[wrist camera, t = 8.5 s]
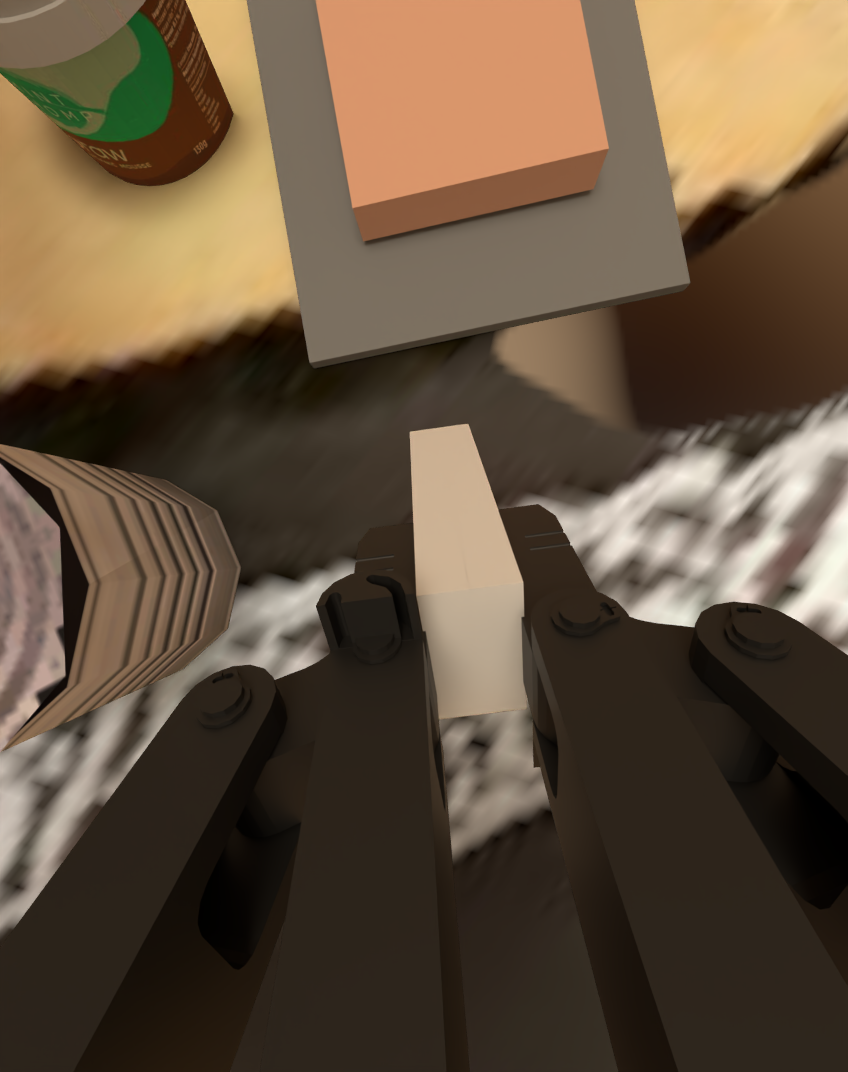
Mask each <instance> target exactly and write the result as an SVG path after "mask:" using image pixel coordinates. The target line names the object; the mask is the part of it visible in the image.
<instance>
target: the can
mask: <svg viewBox="0 0 848 1072" xmlns="http://www.w3.org/2000/svg"><path fill="white" fill-rule="evenodd" d="M240 571H241V566H240V563H239V561H238V559H237V556H236V554H235V552H234V549H233V547H232V544H231V542H230V540H229V537H228V535H227V532H226V530H225V528H224V525H223V523H222V520H221V518H220V516H219V513H218V511H217V510H215V509H214V508H212V507H210V506H209V505H207V504H206V503H204V502H202V501H201V500H199V499H197V498H196V497H194V496H192V495H191V494H189V493H187V492H186V491H184V490H182V489H181V488H179V487H177V486H176V485H174V484H172V483H171V482H169V481H167V480H164V479H159V478H155V477H150V476H145V475H141V474H136V473H132V472H127V471H122V470H118V469H113V468H108V467H104V466H99V465H94V464H90V463H85V462H80V461H76V460H71V459H66V458H62V457H57V456H52V455H48V454H43V453H38V452H34V451H29V450H25V449H20V448H15V447H11V446H6V445H1V444H0V752H2V751H4V750H6V749H8V748H10V747H13V746H15V745H17V744H19V743H21V742H24V741H26V740H28V739H30V738H32V737H35V736H37V735H39V734H41V733H43V732H46V731H48V730H50V729H52V728H54V727H57V726H59V725H61V724H63V723H65V722H68V721H70V720H72V719H74V718H76V717H79V716H81V715H83V714H85V713H87V712H90V711H92V710H94V709H96V708H98V707H101V706H103V705H105V704H107V703H109V702H112V701H114V700H116V699H118V698H120V697H123V696H125V695H127V694H129V693H131V692H134V691H136V690H138V689H140V688H142V687H145V686H147V685H149V684H151V683H153V682H156V681H158V680H160V679H162V678H164V677H167V676H169V675H171V674H173V673H175V672H178V671H180V670H182V669H184V668H185V667H186V666H187V665H188V664H189V663H190V662H191V661H192V660H194V659H195V658H196V657H197V656H198V655H199V654H200V653H201V652H202V651H204V650H205V649H206V648H207V647H208V646H209V645H210V644H211V643H212V642H213V641H215V640H216V639H217V638H218V637H219V636H220V635H221V634H222V633H223V632H224V631H226V630H227V629H228V626H229V621H230V617H231V612H232V607H233V603H234V598H235V594H236V589H237V584H238V580H239V575H240Z"/></svg>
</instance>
